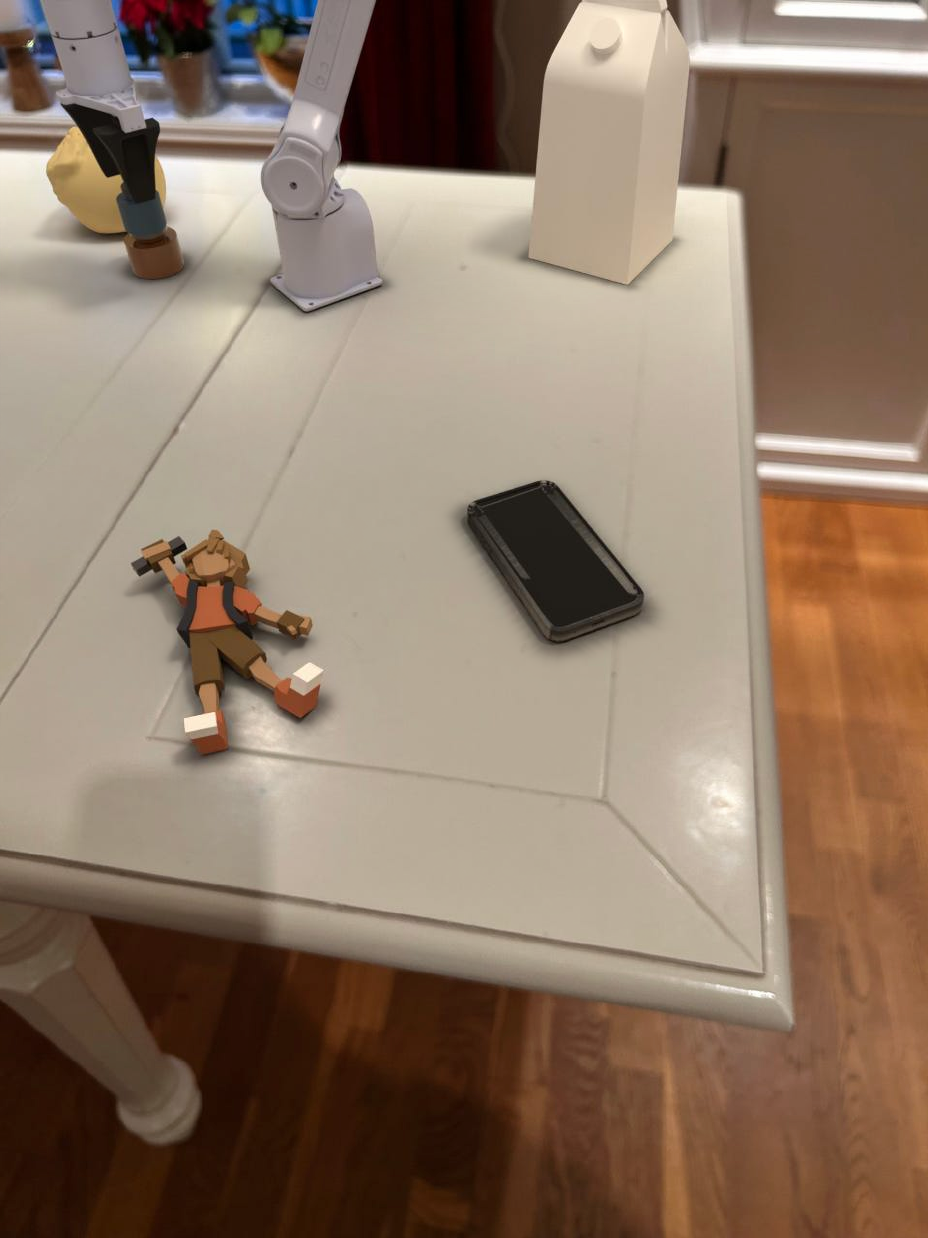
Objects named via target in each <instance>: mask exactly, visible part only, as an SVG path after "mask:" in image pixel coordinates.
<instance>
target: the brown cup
mask: <svg viewBox="0 0 928 1238" xmlns="http://www.w3.org/2000/svg"><path fill="white" fill-rule="evenodd" d="M123 244H124V247H125V250H126V254H127V257H128V260H129V263H130V266H131V270H132V273H133V274H134V276H136V277H138V278H141V279H144V280H145V279H146V280H159V279H165V278H169V277H171V276H174V275H176V274H177V273H179V272H180V271H182V269H183V268H184V267H185V260H184V257H183V253H182V249H181V245H180V241H179V237H178V234H177V231H176V230H175V229H174V228H172V227H170V226H168V224H167V225H166V227H165V228H164V229H163V230H161V231H159V232H157V233H154V234H150V235H141V236H140V235H132V234H129V233H127V234H126V235H125V236H124V238H123Z"/></svg>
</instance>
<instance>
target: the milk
mask: <svg viewBox="0 0 928 1238" xmlns="http://www.w3.org/2000/svg"><path fill="white" fill-rule="evenodd" d="M556 44H557V45H556V46H555V48H554V50H553V52H552V53H551V56H550V58H549V61H548V63H547V65H546V69H545V73H544V78H543V86H542V99H541V109H540V120H539V121H540V122H539V130H538V131H539V132H538V141H537V142H538V143H537V156H536V164H535V165H536V167H535V177H534V190H533V201H532V212H531V221H530V222H531V223H530V233H529V234H530V235H529V244H528V245H529V246H528V255H527V256H528V257H527V258H528V259H531V260H536V261H539V262H543V263H546V264H550V265H554V266H557V267H561V268H564V269H568V270H571V271H575V272H579V273H583V274H586V275H590V276H593V277H597V278H600V279H605V280H608V281H611V282H614V283H615V282H616V283H618V284H623V285H625V286H626V285H627V286H628V285H629V284H630V283H631V282H632V281H633V280H635V278H636V277H638V275H639V274H640V273H642V271H644V269H646V267H647V266H649V264H650V263H651V262H652V261H653V260H654V259H656V258H657V256H659V254H661V252H663V251H664V249H666V248H667V247H668V246H669V245H670V244H671V242H673V238H674V229H675V228H674V227H675V217H676V207H677V198H678V187H679V176H680V167H681V158H682V149H683V137H684V125H685V118H686V107H687V97H688V86H689V76H690V64H691V63H690V62H691V58H690V51H689V48H688V45H687V43H686V41H685V38H684V37H683V35H682V33H681V31H680V29H679V28H678V25H677V23H676V22H675V19H674V18H673V16H672V14H671V12H670V11H669V10H668V2H667V0H581V2H579V3H578V5H577V7H576V9H575V11H574V13H573V14H572V16H571V19H570V20H569V22H568V23H567V26H566V28H565V29H564V31H563V33H562V35H561V37H560V39H559V41H558V42H557V43H556Z"/></svg>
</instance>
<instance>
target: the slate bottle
mask: <svg viewBox="0 0 928 1238" xmlns="http://www.w3.org/2000/svg"><path fill="white" fill-rule="evenodd" d="M120 187H121V190H122V193H120V194H119V195H118V196H117V197H116V201H117V205H118V208H119V211H120V215H121V218H122V221H123V225H124V228H125V233H127V234H128V233H129V234H132V235H140V236H141V235H150V234H154V233H157V232H159V231H161V230H163V229H164V228H165V227H166V225H167V226H168V221H167V218H166V214H165V211H164V208H163V206H162V203H161V199H160V195H159V192H158V191H157V190H156V198H155V199H153V200H150V201H146V202H143V203H139V204H135V203H134V202H133V200H132V199H131V197H130V195H129V193H128V191H127V189H126V187H125V185H124V182H123V183H122V184H121V186H120Z"/></svg>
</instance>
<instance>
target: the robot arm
mask: <svg viewBox="0 0 928 1238" xmlns="http://www.w3.org/2000/svg"><path fill="white" fill-rule="evenodd" d="M39 1H40V4H41V7H42V10H43V14H44V17H45V19H46V23H47V26H48V29H49V33H50V36H51V39H52V41H53V42H52V43H53V45H54V49H55V52H56V54H57V58H58V62H59V65H60V66H61V71H62V74H63V77H64V81H65V83H66V84H65V85H66V86H65V88H63V89H59V90H57V91H55V96H56V99H57V101H58V102H59V104H60V106H61V107H62V108H63V109H64V111H65V112H66V113H67V115H69V117H70V118H71V119H72V121H73V122H74V124H75V125H76V127H77V126H78V128H79V129H80V131H81V133H82V134H83V136H84V138H85V139H86V141H87V143H88V145H89V147H90V149H91V151H92V153H93V155H94V157H95V159H96V161H97V163H98V165H99V167H100V168H101V170H102V172H103V173H104V175H105V176H106V177H107V178H109V177H113V176H116V175H121V178H122V180H123V182H124V185H125V187H126V189H127V191H128V193H129V195H130V197H131V199H132V200H133V202H134V203H135V204H139V203H143V202H146V201H150V200H153V199H155V198H156V184H155V155H156V150H157V144H158V140H159V137H160V135H161V126H160V122H159V121H158V120H156V119H155V118H154V117H149V118H146V119H145V116H144V112H143V108H142V105H141V104H140V103H139V100H138V90H137V84H136V82H135V79H134V78H133V77H132V75H131V71H130V67H129V63H128V59H127V56H126V52H125V48H124V45H123V40H122V37H121V32H120V30H119V26H118V22H117V19H116V15H115V12H114V8H113V4H112V3H113V2H112V0H39ZM376 2H377V0H317V3H316V6H315V11H314V15H313V19H312V23H311V26H310V30H309V34H308V39H307V42H306V46H305V50H304V54H303V58H302V62H301V66H300V70H299V73H298V78H297V82H296V86H295V89H294V93H293V97H292V101H291V104H290V107H289V110H288V113H287V116H286V119H285V122H284V123H282V126H281V127H280V130H279V133H278V136H277V140H276V142H275V144H274V146H273V148H272V150H271V152H270V154H269V156H268V157H267V158H265V160H264V162H263V164H262V167H261V171H260V186H261V190H262V192H263V195H264V197H265V198H266V199H267V201H268V203H270V205H271V210H272V211H271V212H272V217H273V223H274V228H275V234H276V240H277V245H278V250H279V257H280V261H281V267H282V273H281V274H278V275H275V276H272V277H271V278H270V279H269V281H270V284H271V285H272V286H274V287H275V288H276V289H277V290H278V291H280V292H281V293H282V294H283V295H284V296H286V297H287V299H289V300H290V301H292V303H293V304H295V305H296V306H298V307H299V308H300V309H301V310H302V311H304V312H311V311H313V310H317V309H319V308H321V307H324V306H328V305H331V304H333V303H335V302H339V301H341V300H344V299H346V298H349V297H351V296H354V295H357V294H360V293H363V292H365V291H368V290H371V289H374V288H377V287H380V286H381V285H382V284H383V279H381V278H380V277H379V272H378V271H379V270H378V262H377V261H378V260H377V250H376V241H375V232H374V231H375V230H374V222H373V218H372V214H371V212H370V209H369V206H368V204H367V201H366V200H365V199H364V197H363V195H361V193H360V192H359V191H358V190H357V189H355V188H349V187H348V188H343V189H342V187H341V185H340V183H339V182H338V180H337V179H336V178H335V172H336V170H337V169H338V167H339V165H340V163H341V158H342V144H341V139H340V128H341V124H342V120H343V117H344V113H345V107H346V104H347V99H348V97H349V94H350V90H351V87H352V83H353V81H354V76H355V73H356V69H357V66H358V63H359V59H360V56H361V52H362V49H363V46H364V42H365V39H366V35H367V32H368V29H369V25H370V22H371V18H372V15H373V12H374V8H375V5H376Z"/></svg>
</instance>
